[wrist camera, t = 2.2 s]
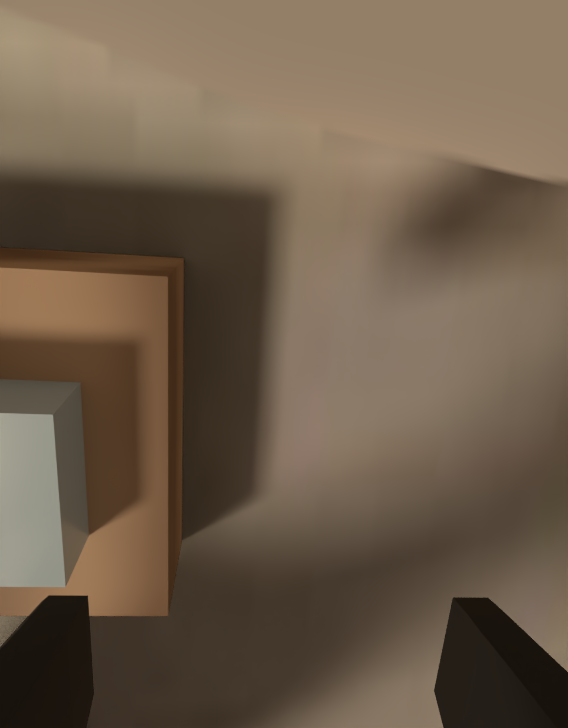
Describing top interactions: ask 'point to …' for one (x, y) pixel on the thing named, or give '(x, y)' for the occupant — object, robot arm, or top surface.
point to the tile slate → (41, 482)
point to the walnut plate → (108, 410)
